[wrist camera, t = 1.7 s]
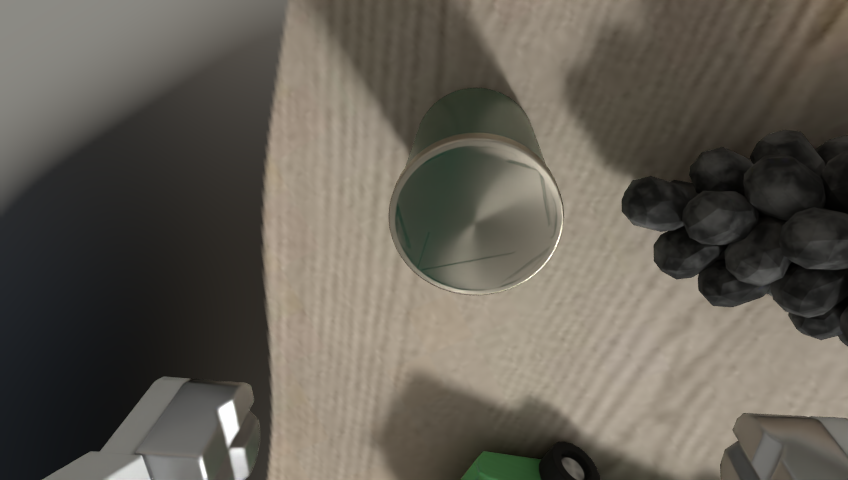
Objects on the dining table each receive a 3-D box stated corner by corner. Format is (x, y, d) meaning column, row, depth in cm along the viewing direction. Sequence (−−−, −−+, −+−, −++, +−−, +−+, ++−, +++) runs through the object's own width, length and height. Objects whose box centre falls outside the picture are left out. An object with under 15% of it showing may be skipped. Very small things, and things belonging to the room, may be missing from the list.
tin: (412, 83, 20) (385, 135, 14) (543, 86, 20) (576, 141, 13) (413, 202, 22) (390, 292, 16) (530, 206, 22) (552, 300, 16)
